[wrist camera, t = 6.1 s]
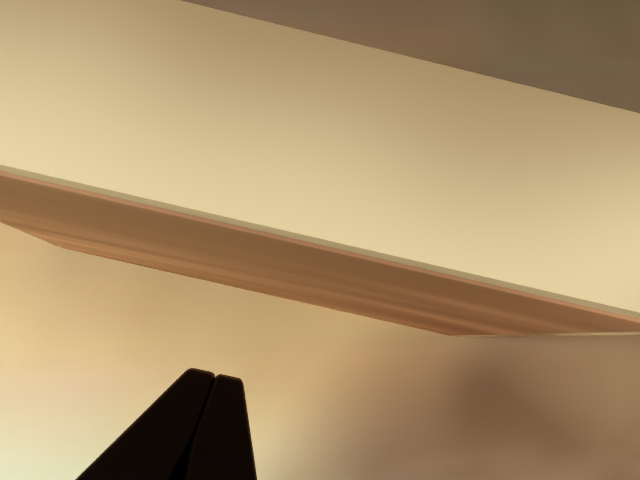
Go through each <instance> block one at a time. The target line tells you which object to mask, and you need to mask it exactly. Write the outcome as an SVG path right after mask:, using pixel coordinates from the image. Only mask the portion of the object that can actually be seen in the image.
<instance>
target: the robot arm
mask: <svg viewBox="0 0 640 480" xmlns="http://www.w3.org/2000/svg"><path fill="white" fill-rule="evenodd" d="M76 480H257V475H256V468H255V461H254V454H253V448H252V441H251V434H250V427H249V420H248V413H247V406H246V399H245V392H244V385H243V382H242V380H241V379H240V378H236V377H231V376H227V375H222V374H219V375H217V376H216V377H215V375H214V373H212V372H209V371H204V370H200V369H195V368H190V369H188V370H187V371H185V372H184V373H183V374H182V375H181V376H180V377H179V378H178V379H177V380H176V381H175V382H174V383H173V384H172V385H171V386H170V387H169V388H168V389H167V390H166V391H165V392H164V393H163V394H162V395H161V396H160V397H159V398H158V399H157V400H156V401H155V402H154V403H153V404H152V405H151V406H150V407H149V408H148V409H147V410H146V411H145V412H144V413H143V414H142V415H141V416H140V417H139V418H138V419H136V420H135V421H134V422H133V423H132V424H131V425H130V426H129V427H128V428H127V429H126V430H125V431H124V432H123V433H122V434H121V435H120V436H119V437H118V438H117V439H116V440H115V441H114V442H113V443H112V444H111V445H110V446H109V447H108V448H107V449H106V450H105V451H104V452H103V453H102V454H101V455H100V456H99V457H98V458H97V459H96V460H95V461H94V462H93V463H92V464H91V465H90V466H89V467H88V468H87V469H86V470H85V471H84V472H83V473H82V474H81V475H80V476H79V477H78V478H77V479H76Z"/></svg>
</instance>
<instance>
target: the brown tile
mask: <svg viewBox="0 0 640 480" xmlns="http://www.w3.org/2000/svg"><path fill="white" fill-rule="evenodd" d="M0 222H2V223H4V224H6V225H9V226H11V227H13V228H16V229H18V230H20V231H23V232H25V233H27V234H30V235H32V236H34V237H37V238H39V239H41V240H44V241H46V242H48V243H51V244H53V245H56V246H60V247H62V248H65V249H70V250H74V251H79V252H83V253H88V254H92V255H96V256H101V257H105V258H110V259H114V260H118V261H123V262H127V263H132V264H136V265H140V266H145V267H149V268H154V269H158V270H163V271H167V272H171V273H176V274H180V275H185V276H189V277H193V278H198V279H202V280H207V281H211V282H215V283H220V284H224V285H229V286H233V287H238V288H242V289H246V290H251V291H255V292H260V293H264V294H268V295H273V296H277V297H282V298H286V299H290V300H295V301H299V302H304V303H308V304H313V305H317V306H321V307H326V308H330V309H335V310H339V311H343V312H348V313H352V314H357V315H361V316H365V317H370V318H374V319H379V320H383V321H388V322H392V323H396V324H401V325H405V326H410V327H414V328H418V329H423V330H427V331H432V332H436V333H440V334H445V335H449V336H457V337H504V336H583V335H640V113H636V112H632V111H628V110H624V109H620V108H616V107H611V106H607V105H603V104H599V103H595V102H591V101H587V100H583V99H579V98H575V97H571V96H567V95H563V94H559V93H554V92H550V91H546V90H542V89H538V88H534V87H530V86H526V85H522V84H518V83H514V82H510V81H506V80H502V79H498V78H493V77H489V76H485V75H481V74H477V73H473V72H469V71H465V70H461V69H457V68H453V67H449V66H445V65H441V64H437V63H432V62H428V61H424V60H420V59H416V58H412V57H408V56H404V55H400V54H396V53H392V52H388V51H384V50H380V49H375V48H371V47H367V46H363V45H359V44H355V43H351V42H347V41H343V40H339V39H335V38H331V37H327V36H323V35H319V34H314V33H310V32H306V31H302V30H298V29H294V28H290V27H286V26H282V25H278V24H274V23H270V22H266V21H262V20H258V19H253V18H249V17H245V16H241V15H237V14H233V13H229V12H225V11H221V10H217V9H213V8H209V7H205V6H201V5H196V4H192V3H188V2H184V1H180V0H0Z"/></svg>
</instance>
